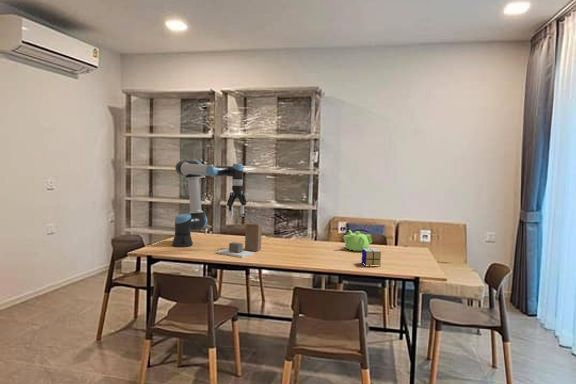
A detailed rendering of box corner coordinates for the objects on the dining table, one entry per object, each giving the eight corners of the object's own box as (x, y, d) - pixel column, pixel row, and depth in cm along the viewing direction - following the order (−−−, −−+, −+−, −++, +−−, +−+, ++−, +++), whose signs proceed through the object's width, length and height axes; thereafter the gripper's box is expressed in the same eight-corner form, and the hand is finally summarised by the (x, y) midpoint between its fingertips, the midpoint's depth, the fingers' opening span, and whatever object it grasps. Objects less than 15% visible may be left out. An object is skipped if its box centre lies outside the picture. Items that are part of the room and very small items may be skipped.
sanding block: (229, 251, 304) (229, 243, 304) (233, 250, 308) (233, 242, 308) (238, 253, 300) (238, 244, 300) (242, 252, 304) (242, 243, 304)
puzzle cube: (361, 263, 291) (362, 248, 290) (375, 263, 292) (376, 248, 291) (365, 266, 281) (366, 251, 280) (380, 266, 282) (381, 251, 281)
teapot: (364, 253, 323) (365, 234, 322) (339, 250, 332) (340, 231, 331) (372, 249, 339) (373, 231, 338) (348, 246, 349) (349, 228, 348)
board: (216, 253, 304) (216, 251, 304) (228, 250, 316) (228, 248, 316) (241, 257, 293) (242, 255, 293) (253, 254, 305) (253, 252, 305)
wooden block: (257, 251, 314) (258, 224, 313) (244, 250, 316) (245, 223, 315) (261, 249, 324) (262, 222, 323) (248, 248, 326) (249, 222, 325)
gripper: (230, 186, 297) (230, 216, 299) (251, 185, 319) (250, 213, 320) (222, 185, 301) (221, 215, 302) (243, 184, 323) (242, 212, 324)
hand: (236, 214), depth 311 cm, fingers open, 13 cm apart
